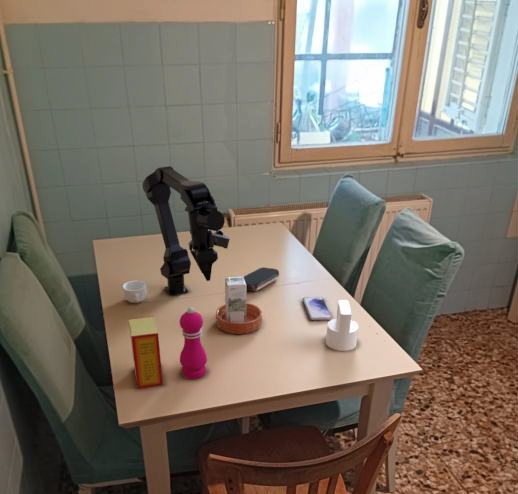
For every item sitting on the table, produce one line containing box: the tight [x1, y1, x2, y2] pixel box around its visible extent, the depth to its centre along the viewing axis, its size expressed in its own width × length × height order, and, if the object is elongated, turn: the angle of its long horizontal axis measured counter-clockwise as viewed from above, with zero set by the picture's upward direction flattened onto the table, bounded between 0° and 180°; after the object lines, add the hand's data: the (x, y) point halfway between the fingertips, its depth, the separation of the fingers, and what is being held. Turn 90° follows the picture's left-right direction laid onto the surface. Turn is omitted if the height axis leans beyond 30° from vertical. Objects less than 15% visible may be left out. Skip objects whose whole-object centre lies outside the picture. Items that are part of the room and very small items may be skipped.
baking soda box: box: [128, 315, 164, 389], centre depth 148 cm, size 10×6×16 cm
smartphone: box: [302, 296, 333, 321], centre depth 186 cm, size 7×1×15 cm
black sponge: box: [243, 267, 280, 292], centre depth 202 cm, size 16×8×4 cm, turn 143°
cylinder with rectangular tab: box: [325, 299, 359, 352], centre depth 166 cm, size 9×9×12 cm
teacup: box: [122, 280, 148, 304], centre depth 188 cm, size 10×8×5 cm
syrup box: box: [224, 276, 247, 323], centre depth 174 cm, size 6×6×14 cm
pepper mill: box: [179, 306, 208, 380], centre depth 149 cm, size 7×7×20 cm
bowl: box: [215, 302, 263, 335], centre depth 177 cm, size 14×14×4 cm
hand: (206, 276), depth 177 cm, fingers open, 9 cm apart
